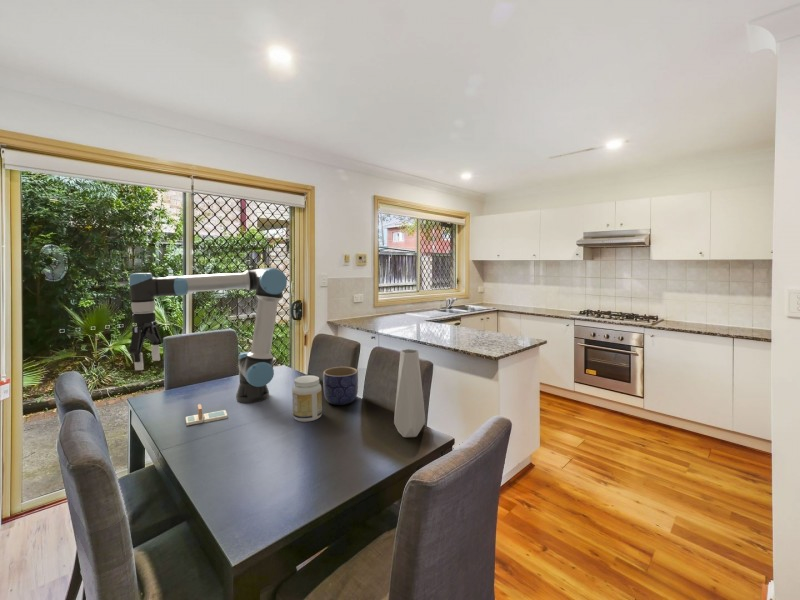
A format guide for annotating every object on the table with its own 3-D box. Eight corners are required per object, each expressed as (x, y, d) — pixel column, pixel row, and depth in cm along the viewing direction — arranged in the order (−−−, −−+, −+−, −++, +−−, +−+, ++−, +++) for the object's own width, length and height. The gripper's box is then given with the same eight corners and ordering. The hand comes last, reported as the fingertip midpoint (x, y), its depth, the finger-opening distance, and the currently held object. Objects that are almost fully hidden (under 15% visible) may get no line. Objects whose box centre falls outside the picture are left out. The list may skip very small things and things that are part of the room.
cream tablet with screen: (225, 412, 167) (225, 409, 167) (227, 418, 161) (227, 415, 161) (202, 416, 162) (202, 413, 162) (203, 422, 156) (203, 419, 156)
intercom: (201, 416, 162) (201, 403, 161) (203, 422, 156) (202, 408, 155) (185, 419, 159) (185, 406, 158) (186, 425, 153) (185, 411, 152)
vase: (388, 429, 150) (388, 349, 147) (414, 425, 154) (415, 346, 151) (400, 443, 139) (400, 356, 136) (428, 437, 143) (429, 353, 140)
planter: (365, 399, 183) (365, 369, 182) (342, 410, 170) (342, 378, 168) (339, 393, 192) (339, 364, 191) (316, 403, 178) (315, 372, 177)
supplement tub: (312, 409, 171) (311, 372, 169) (327, 416, 162) (327, 378, 161) (287, 416, 162) (286, 378, 161) (302, 425, 154) (301, 385, 152)
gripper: (148, 308, 159) (153, 357, 161) (114, 317, 134) (120, 374, 137) (168, 308, 160) (172, 356, 162) (137, 316, 136) (142, 373, 138)
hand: (148, 365), depth 149 cm, fingers open, 13 cm apart
